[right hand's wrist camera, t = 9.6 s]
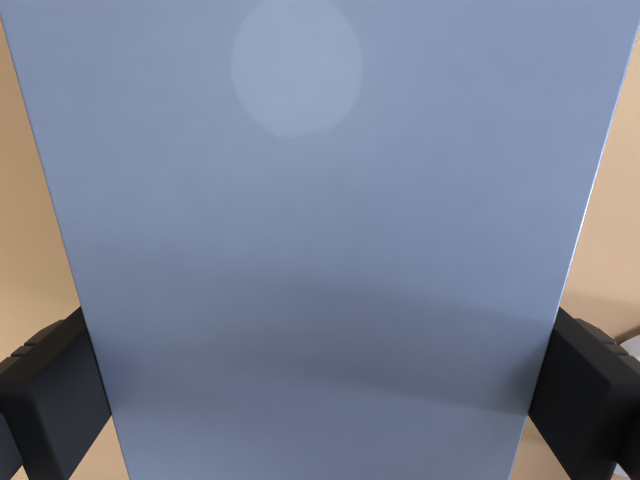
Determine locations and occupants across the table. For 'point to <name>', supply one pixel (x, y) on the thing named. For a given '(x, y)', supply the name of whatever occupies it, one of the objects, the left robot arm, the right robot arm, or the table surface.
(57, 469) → the right robot arm
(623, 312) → the table surface
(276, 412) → the cabinet
